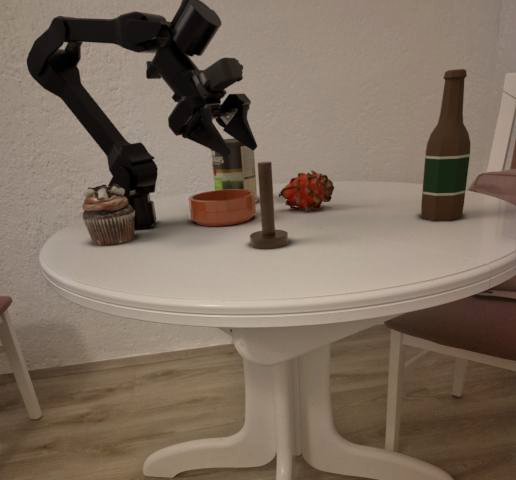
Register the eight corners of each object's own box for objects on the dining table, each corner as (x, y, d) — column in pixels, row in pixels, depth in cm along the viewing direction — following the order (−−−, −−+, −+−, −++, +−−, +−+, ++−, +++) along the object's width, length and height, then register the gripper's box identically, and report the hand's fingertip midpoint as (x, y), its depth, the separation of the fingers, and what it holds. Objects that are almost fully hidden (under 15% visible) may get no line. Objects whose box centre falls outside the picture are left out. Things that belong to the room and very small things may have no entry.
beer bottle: (455, 222, 85) (473, 67, 74) (412, 219, 90) (423, 72, 79) (468, 213, 91) (487, 67, 80) (427, 210, 95) (440, 72, 84)
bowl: (189, 229, 95) (185, 203, 93) (194, 215, 107) (191, 192, 105) (257, 224, 95) (256, 198, 93) (254, 210, 107) (253, 187, 105)
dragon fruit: (339, 215, 104) (284, 227, 105) (331, 186, 108) (279, 198, 109) (338, 186, 96) (279, 199, 98) (329, 157, 100) (273, 170, 102)
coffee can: (225, 208, 111) (218, 143, 105) (210, 202, 120) (203, 141, 113) (265, 202, 115) (261, 138, 108) (247, 196, 123) (243, 137, 117)
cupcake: (77, 245, 90) (63, 190, 85) (110, 232, 98) (100, 180, 93) (117, 247, 86) (105, 190, 82) (149, 234, 94) (140, 180, 89)
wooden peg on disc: (251, 250, 79) (244, 166, 73) (249, 240, 84) (243, 161, 79) (290, 247, 79) (286, 163, 73) (286, 237, 85) (282, 158, 79)
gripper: (176, 33, 70) (244, 119, 70) (239, 41, 84) (296, 112, 85) (140, 95, 77) (203, 172, 77) (204, 92, 91) (257, 157, 92)
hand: (242, 151), depth 83 cm, fingers open, 9 cm apart
